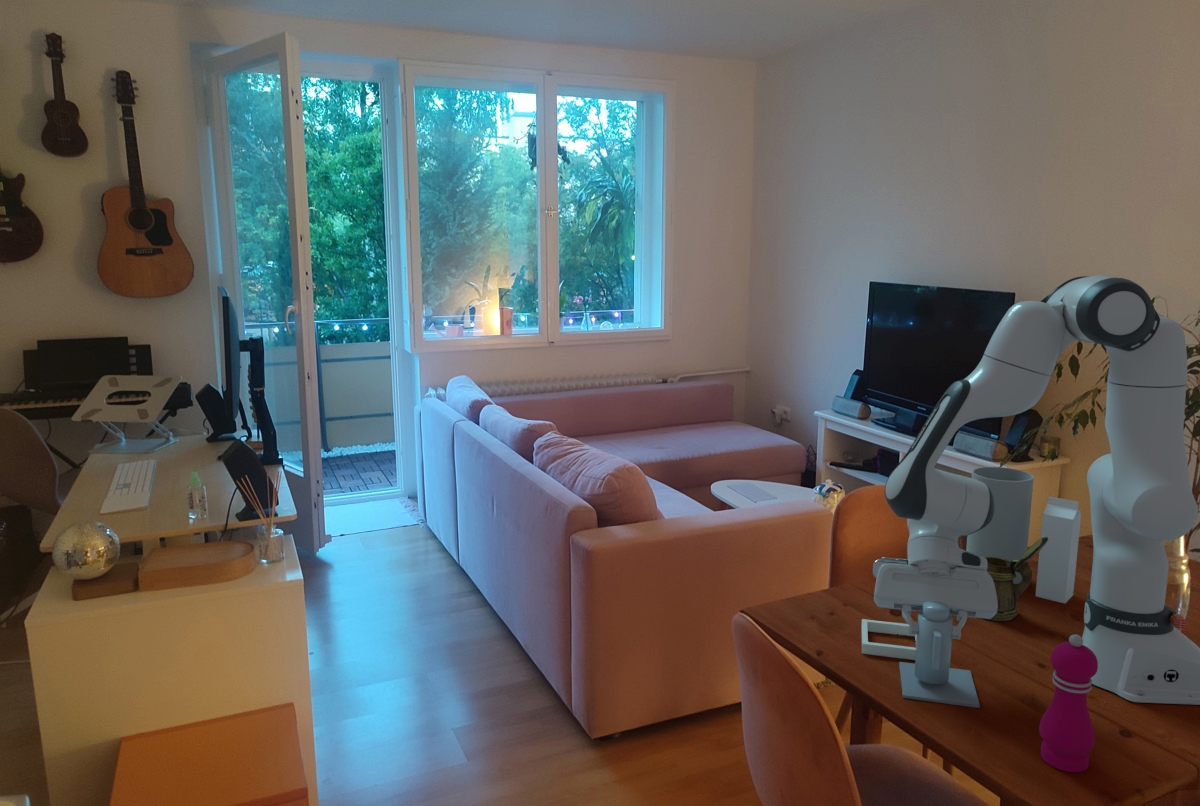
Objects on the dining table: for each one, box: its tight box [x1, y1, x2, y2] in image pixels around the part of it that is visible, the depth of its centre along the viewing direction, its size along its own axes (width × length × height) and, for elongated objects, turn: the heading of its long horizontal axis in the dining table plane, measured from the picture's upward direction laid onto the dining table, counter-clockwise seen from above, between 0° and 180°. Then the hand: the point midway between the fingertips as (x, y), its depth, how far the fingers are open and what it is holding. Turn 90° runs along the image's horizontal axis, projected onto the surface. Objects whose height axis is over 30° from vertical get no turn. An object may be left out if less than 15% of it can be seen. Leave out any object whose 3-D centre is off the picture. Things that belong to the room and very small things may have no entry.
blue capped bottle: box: [914, 601, 954, 684], centre depth 143 cm, size 6×8×13 cm
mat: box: [898, 661, 981, 709], centre depth 145 cm, size 12×12×1 cm
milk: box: [1035, 496, 1082, 604], centre depth 179 cm, size 6×6×22 cm
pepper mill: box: [1038, 634, 1098, 773], centre depth 122 cm, size 7×7×20 cm
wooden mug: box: [983, 537, 1048, 622], centre depth 171 cm, size 9×14×18 cm, turn 60°
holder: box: [861, 618, 917, 661], centre depth 160 cm, size 11×11×2 cm
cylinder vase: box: [965, 466, 1035, 584], centre depth 189 cm, size 12×12×25 cm
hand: (934, 635), depth 143 cm, fingers closed on blue capped bottle, 5 cm apart
